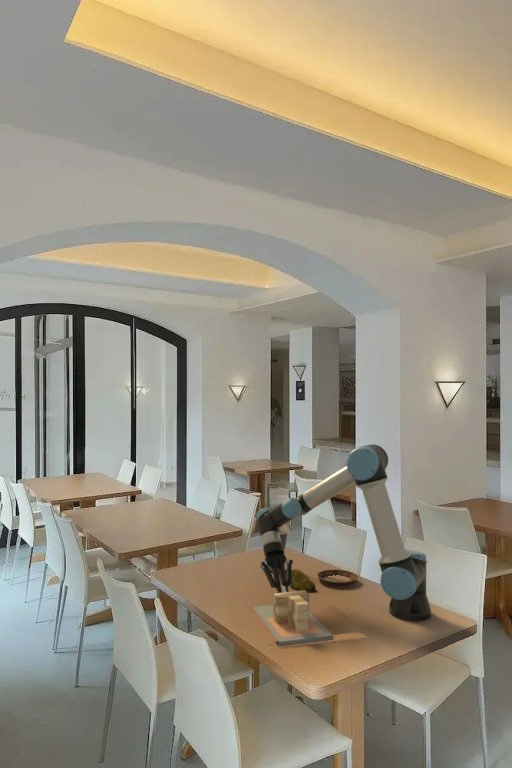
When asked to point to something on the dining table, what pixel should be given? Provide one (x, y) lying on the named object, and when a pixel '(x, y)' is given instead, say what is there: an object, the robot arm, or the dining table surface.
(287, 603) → the t block
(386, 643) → the dining table surface
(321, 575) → the plant saucer
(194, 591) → the dining table surface
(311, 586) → the potato
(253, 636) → the dining table surface
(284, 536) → the moka pot
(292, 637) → the board
